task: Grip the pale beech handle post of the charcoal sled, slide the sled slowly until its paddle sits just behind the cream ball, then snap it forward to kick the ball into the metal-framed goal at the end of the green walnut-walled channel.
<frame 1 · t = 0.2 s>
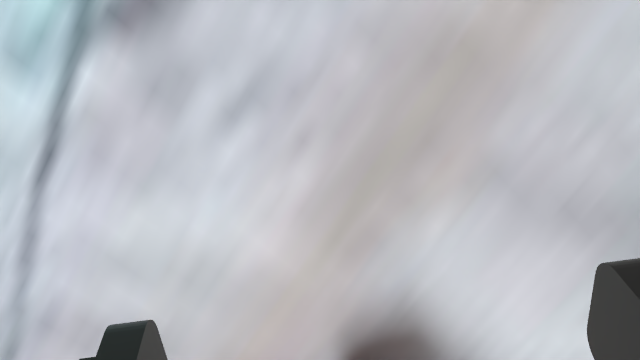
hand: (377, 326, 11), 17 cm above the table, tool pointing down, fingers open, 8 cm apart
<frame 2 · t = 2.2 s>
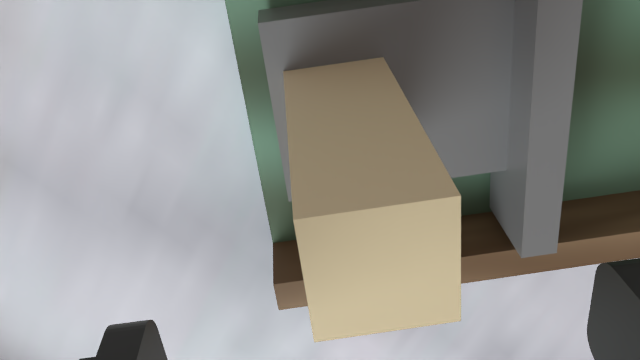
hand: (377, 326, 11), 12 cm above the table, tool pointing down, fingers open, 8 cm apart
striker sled: (438, 145, 15), point 7 cm above the table, slide at 0.0 cm
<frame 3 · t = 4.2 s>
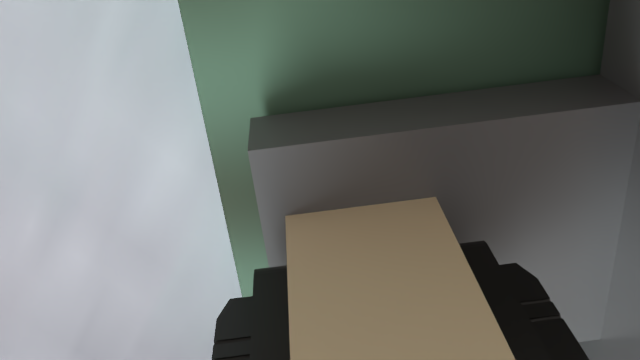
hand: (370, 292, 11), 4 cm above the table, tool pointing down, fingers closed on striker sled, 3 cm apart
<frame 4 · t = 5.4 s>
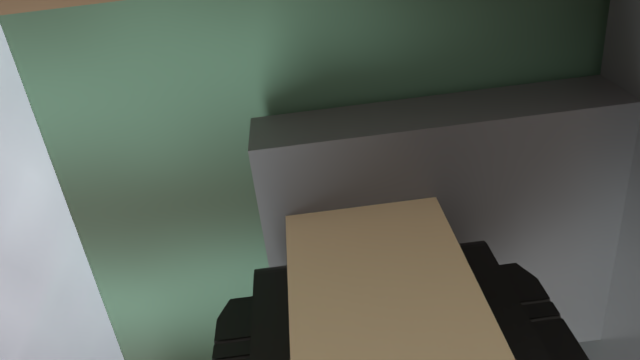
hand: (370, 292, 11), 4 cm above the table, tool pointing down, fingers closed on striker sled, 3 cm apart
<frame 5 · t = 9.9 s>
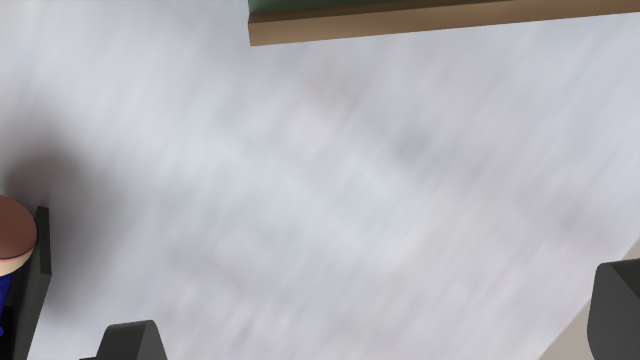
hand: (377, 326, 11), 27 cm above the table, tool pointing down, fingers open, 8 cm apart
character figurine: (16, 263, 42), on the table
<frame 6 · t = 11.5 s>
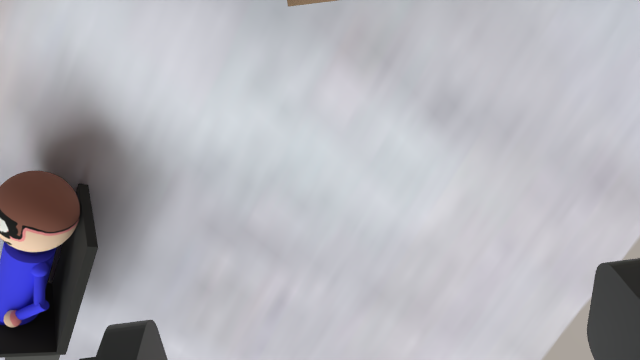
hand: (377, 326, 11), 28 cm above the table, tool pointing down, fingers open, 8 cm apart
character figurine: (55, 241, 42), on the table
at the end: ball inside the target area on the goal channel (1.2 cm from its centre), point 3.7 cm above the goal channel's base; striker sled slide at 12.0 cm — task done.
